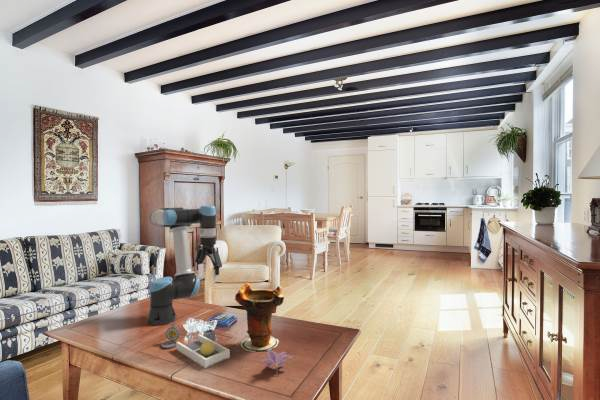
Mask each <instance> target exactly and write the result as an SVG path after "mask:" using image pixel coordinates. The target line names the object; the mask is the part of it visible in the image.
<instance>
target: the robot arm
mask: <svg viewBox="0 0 600 400" xmlns="http://www.w3.org/2000/svg"><path fill="white" fill-rule="evenodd" d="M216 209H217V208H216V206H215V205H201V206H200V207H199V208H188V207H182V206H181V207H162V208H157V209H154V210H153V211H151V213H150V215H149V221H150V223H151V224H152V225H153V226H155V227H160V228H169V231H170V232H171V233H172V236H173V246H174V247H173V248H174V257H175V259H174V260H175V269H176V273H175V274H174V275H173V276H174V277H172V276H162V277H159V278H155V279H154V280H152V281H151V282H150V284H149V285H150V286H149V310H148V314H147V316H146V324H148V325H152V326H162V325H167V324H170V323H171V322H172V323H174V322H175V320H176V319H177V317H176V316H177V315H176V310H175V309H174V306H173V301H174V300H179V299H180V300H181V299H184V298H191V297H195V296H196V295H197V294H198V293H199V291H200V287H201V286H200V284H201V283H200V282H201V281H200V278H202V277H204V271H205V269H204V267H205V266H204V261H205V259H206V257H207V256H208V258H209V259H210V261H211V263H212V265H213V268H212V272H213V273H212V278H213V279H212V282H213V283H217V282H220V268H222V267H223V265H222V260H221V256H220V252H219V248H218V246H217V247H216V246H215V245H216V244H217V238H216V236H217V228H216V227H217V226H216V225H217V224H216V223H217V212H216V211H217V210H216ZM194 224H196V225H197V224H199V227H200V230H199V236H200V240H199V243H200V244H199V245H198V249H197V253H196V257H195V261H194V262H195V263H196V264H197V275H196V272H195V271H193V267H192V260H191V258H192V257H191V250H190V242H189V240H190V238H189V230H190V229H191V226H192V225H194Z"/></svg>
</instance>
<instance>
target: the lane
mask: <svg viewBox="0 0 600 400" xmlns="http://www.w3.org/2000/svg"><path fill="white" fill-rule="evenodd" d="M206 341H210V342H212V343H213V344H214V352H213V353H212V354H211V355H209V356H204V355H202V354H201V352H200V347H201V345H202V344H203V343H204V342H206ZM175 347H176V351H177V352H179V353H181V354H182V355H183V356H185V357H187V358H188V359H190V360H191V361H193V362H195V363H197V364H198V365H199V366H201V367H203V368H204V369H208V368H210V367H212V366H215V365H216V364H218V363H221V362H224V361H226V360H228V359H230V358H231V356H230V355H231V354H230V353H231V352H230V351H231V350H230V349H229V348H227V347H225V346H223V345H221V344H219V343H217V342H216V341H215V340H213V341H212V340H210V339H208V338H206V337H204V335H202V334H200V333H199V334H197V341H194V342H192V343H191V342H190V343H189V344H186V345H185V344H183V343H181V342H180V341H176V346H175Z"/></svg>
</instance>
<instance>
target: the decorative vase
mask: <svg viewBox="0 0 600 400" xmlns="http://www.w3.org/2000/svg"><path fill="white" fill-rule="evenodd" d="M234 298H235V299H234V300H235V301H236V303H238V304H239V306H241V307H243V309H244V310H245V311H246V320H247V321H246V322H247V323H246V324H247V330H246V334H248V337H247V338H244V340H243V341H242V342H241V344H240V346H241V348H243V350H245V351H247V352H251V353H252V352H253V353H255V352H257V351H260V352H261V351H262V352H264V351H268V350H270V351H273V350H272V349H275V348H276V347H278V344H279V342H280V340H279V339H278V338H275V337H274V336H272V333H273V330H272V316H273V312H274V310H275V309H276V308H277V307H279V306H281V305H282V304H283V303H284V300H285V296H284V294H283V292H282V286H281V285H277V287H276V288H275V289H267V288H252V287H251V285H250V283H248V282H246V283H243V284H242V286H241V288H240V289H238V292H236V293H235V296H234Z"/></svg>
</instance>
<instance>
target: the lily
mask: <svg viewBox="0 0 600 400" xmlns="http://www.w3.org/2000/svg"><path fill="white" fill-rule="evenodd" d="M293 357H294V356H292V355H288V354H286V351H282V352H280V353H277V352H275V351H274V350H271V349H270V350H267V358H264V359H261V360H260V362H266V365H265V367H270V366H272V365H274V366H276V367H275V369H276V370H278V366H279V367H284V361H286V360H289V359H293ZM278 372H279V371H276V377H277V378H278V377H279V373H278Z"/></svg>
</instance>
